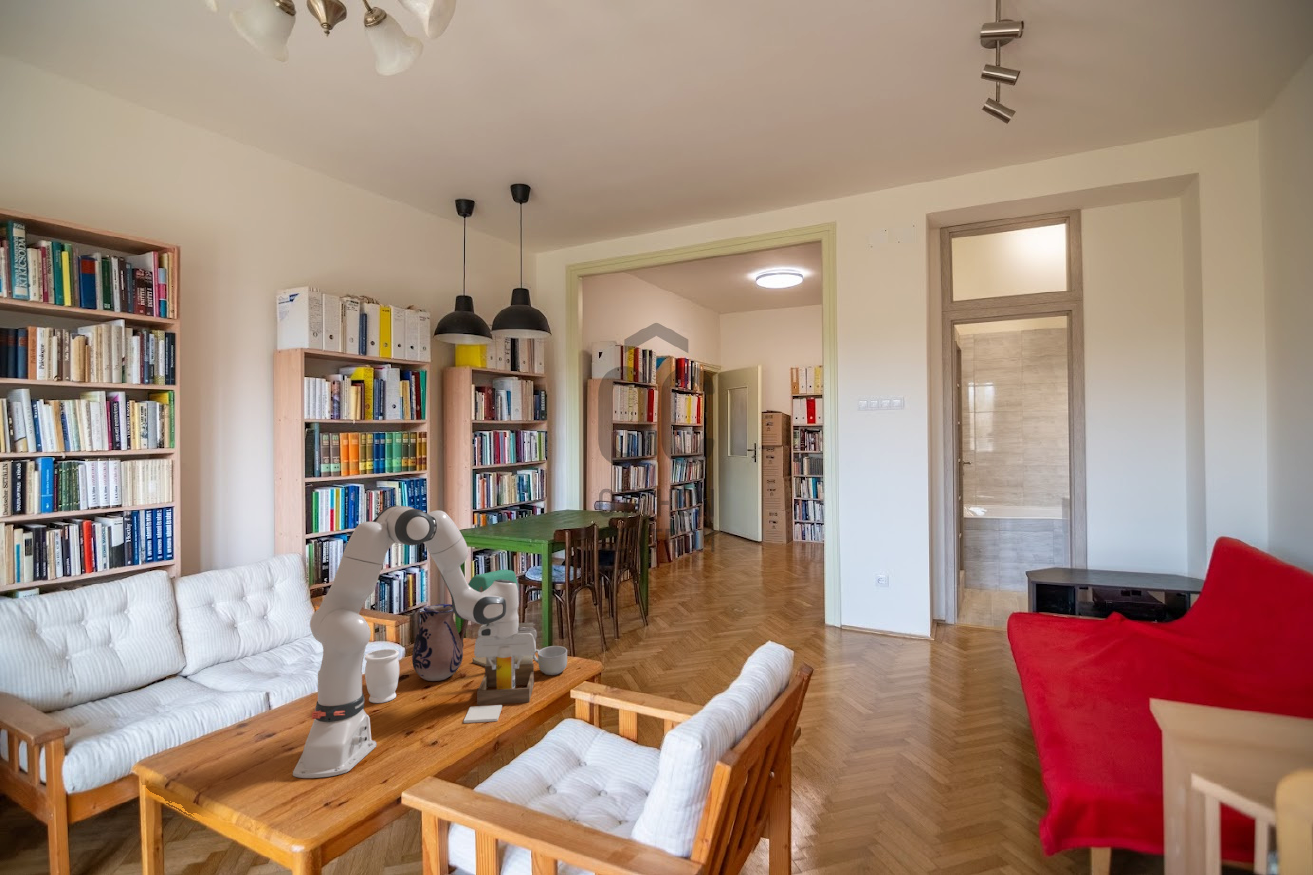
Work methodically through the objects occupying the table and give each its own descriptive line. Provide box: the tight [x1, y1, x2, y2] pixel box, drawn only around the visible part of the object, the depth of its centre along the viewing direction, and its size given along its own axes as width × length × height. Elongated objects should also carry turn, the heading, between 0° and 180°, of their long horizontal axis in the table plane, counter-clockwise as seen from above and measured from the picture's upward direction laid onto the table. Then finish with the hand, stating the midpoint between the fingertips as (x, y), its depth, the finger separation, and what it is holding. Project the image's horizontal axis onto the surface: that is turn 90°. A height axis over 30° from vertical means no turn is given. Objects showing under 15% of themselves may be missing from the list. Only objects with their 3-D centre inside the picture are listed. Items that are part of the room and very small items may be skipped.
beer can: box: [496, 647, 516, 689], centre depth 212 cm, size 6×6×15 cm
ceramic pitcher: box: [411, 603, 470, 682], centre depth 231 cm, size 18×21×25 cm
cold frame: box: [476, 622, 535, 706], centre depth 215 cm, size 21×17×20 cm
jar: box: [364, 648, 400, 704], centre depth 210 cm, size 11×10×15 cm
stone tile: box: [463, 704, 503, 724], centre depth 196 cm, size 10×10×1 cm
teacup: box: [533, 645, 568, 676], centre depth 233 cm, size 14×11×8 cm
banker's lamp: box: [467, 569, 519, 668], centre depth 242 cm, size 16×21×35 cm
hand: (505, 668), depth 212 cm, fingers open, 6 cm apart
